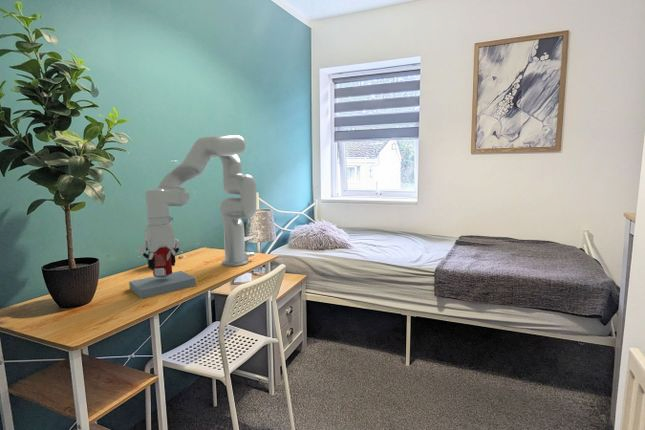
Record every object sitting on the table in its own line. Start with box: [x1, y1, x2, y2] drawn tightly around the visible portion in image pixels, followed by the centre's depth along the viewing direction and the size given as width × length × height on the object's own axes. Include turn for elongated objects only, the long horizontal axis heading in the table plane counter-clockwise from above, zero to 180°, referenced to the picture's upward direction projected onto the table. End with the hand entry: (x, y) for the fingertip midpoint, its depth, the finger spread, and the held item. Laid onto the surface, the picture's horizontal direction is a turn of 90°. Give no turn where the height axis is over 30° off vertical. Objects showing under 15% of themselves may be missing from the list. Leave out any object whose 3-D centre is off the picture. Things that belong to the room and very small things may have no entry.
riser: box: [128, 270, 197, 299], centre depth 139 cm, size 20×14×3 cm
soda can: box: [152, 246, 173, 278], centre depth 138 cm, size 7×7×12 cm
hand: (162, 266), depth 138 cm, fingers open, 7 cm apart
